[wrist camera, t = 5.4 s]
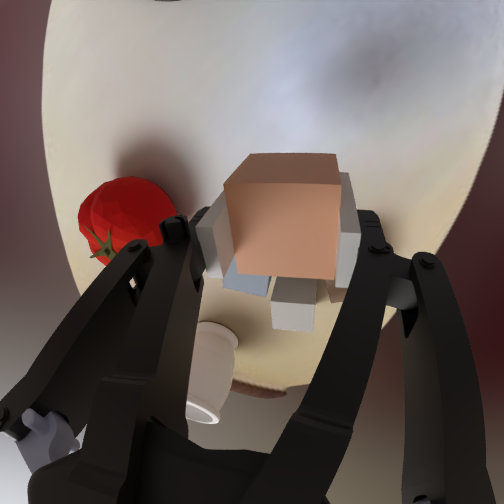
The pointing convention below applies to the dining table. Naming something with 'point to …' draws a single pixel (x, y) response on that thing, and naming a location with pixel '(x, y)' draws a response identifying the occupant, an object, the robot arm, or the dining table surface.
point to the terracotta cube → (285, 214)
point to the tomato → (123, 215)
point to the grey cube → (293, 304)
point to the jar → (210, 372)
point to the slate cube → (245, 281)
